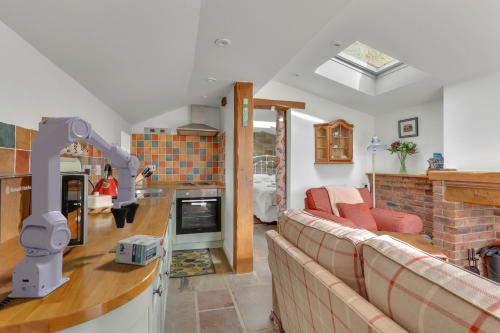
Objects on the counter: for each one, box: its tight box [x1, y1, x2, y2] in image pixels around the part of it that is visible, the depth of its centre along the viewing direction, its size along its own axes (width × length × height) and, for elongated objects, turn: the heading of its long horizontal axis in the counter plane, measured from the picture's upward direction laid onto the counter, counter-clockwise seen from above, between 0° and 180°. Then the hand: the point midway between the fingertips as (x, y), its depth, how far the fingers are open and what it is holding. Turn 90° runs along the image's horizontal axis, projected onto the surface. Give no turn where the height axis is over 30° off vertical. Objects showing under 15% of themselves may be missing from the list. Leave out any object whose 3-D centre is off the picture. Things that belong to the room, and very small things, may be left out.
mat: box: [108, 245, 117, 253], centre depth 95 cm, size 12×9×1 cm
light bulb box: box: [115, 233, 165, 267], centre depth 83 cm, size 11×7×11 cm
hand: (125, 225), depth 90 cm, fingers open, 7 cm apart
